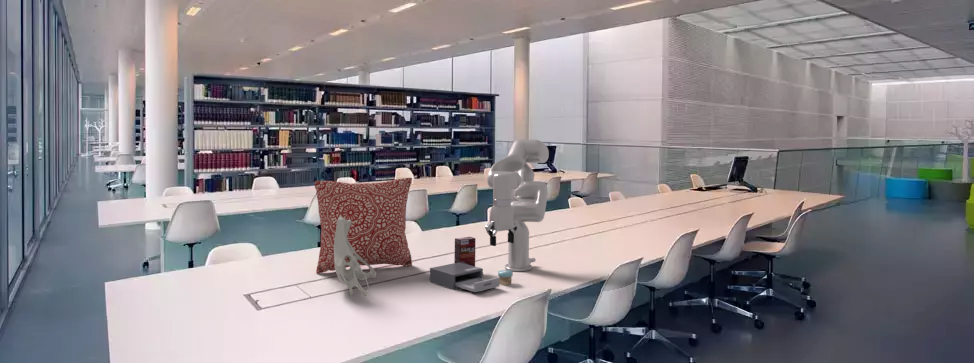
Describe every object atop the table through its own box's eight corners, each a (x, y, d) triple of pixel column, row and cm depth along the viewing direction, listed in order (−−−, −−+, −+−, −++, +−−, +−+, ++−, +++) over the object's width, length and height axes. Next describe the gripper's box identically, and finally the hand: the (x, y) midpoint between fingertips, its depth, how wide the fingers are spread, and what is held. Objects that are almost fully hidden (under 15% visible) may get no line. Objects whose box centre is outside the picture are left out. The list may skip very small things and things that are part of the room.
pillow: (318, 278, 251) (315, 181, 247) (314, 269, 266) (312, 178, 262) (416, 269, 267) (416, 178, 263) (408, 262, 282) (407, 176, 278)
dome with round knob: (505, 272, 247) (505, 269, 247) (515, 275, 243) (515, 271, 243) (495, 275, 243) (495, 271, 243) (505, 278, 239) (505, 274, 239)
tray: (475, 279, 246) (475, 270, 246) (499, 286, 235) (499, 277, 235) (451, 284, 237) (451, 276, 237) (475, 292, 226) (475, 283, 226)
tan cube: (505, 282, 246) (505, 273, 245) (511, 283, 243) (511, 275, 243) (499, 283, 243) (499, 275, 243) (505, 285, 241) (505, 277, 240)
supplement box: (459, 275, 257) (459, 240, 255) (454, 273, 260) (453, 238, 259) (476, 272, 262) (476, 237, 260) (469, 270, 265) (469, 236, 264)
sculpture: (381, 300, 219) (379, 221, 216) (333, 303, 215) (331, 223, 212) (377, 278, 250) (376, 209, 248) (335, 281, 247) (334, 211, 244)
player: (459, 275, 256) (459, 261, 256) (483, 282, 244) (483, 268, 244) (430, 282, 245) (429, 267, 245) (453, 289, 234) (453, 274, 233)
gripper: (511, 200, 248) (511, 240, 250) (480, 203, 237) (480, 245, 239) (523, 202, 242) (523, 242, 244) (491, 205, 232) (491, 248, 233)
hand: (502, 244), depth 241 cm, fingers open, 9 cm apart
